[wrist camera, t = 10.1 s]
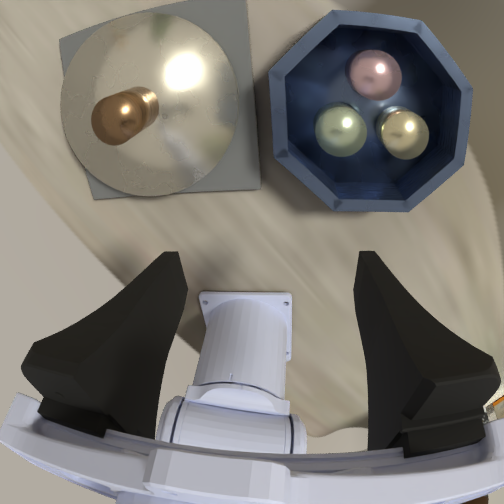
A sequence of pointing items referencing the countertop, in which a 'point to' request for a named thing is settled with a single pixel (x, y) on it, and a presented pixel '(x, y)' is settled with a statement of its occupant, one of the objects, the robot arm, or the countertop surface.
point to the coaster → (239, 54)
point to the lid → (150, 104)
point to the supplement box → (499, 408)
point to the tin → (369, 112)
